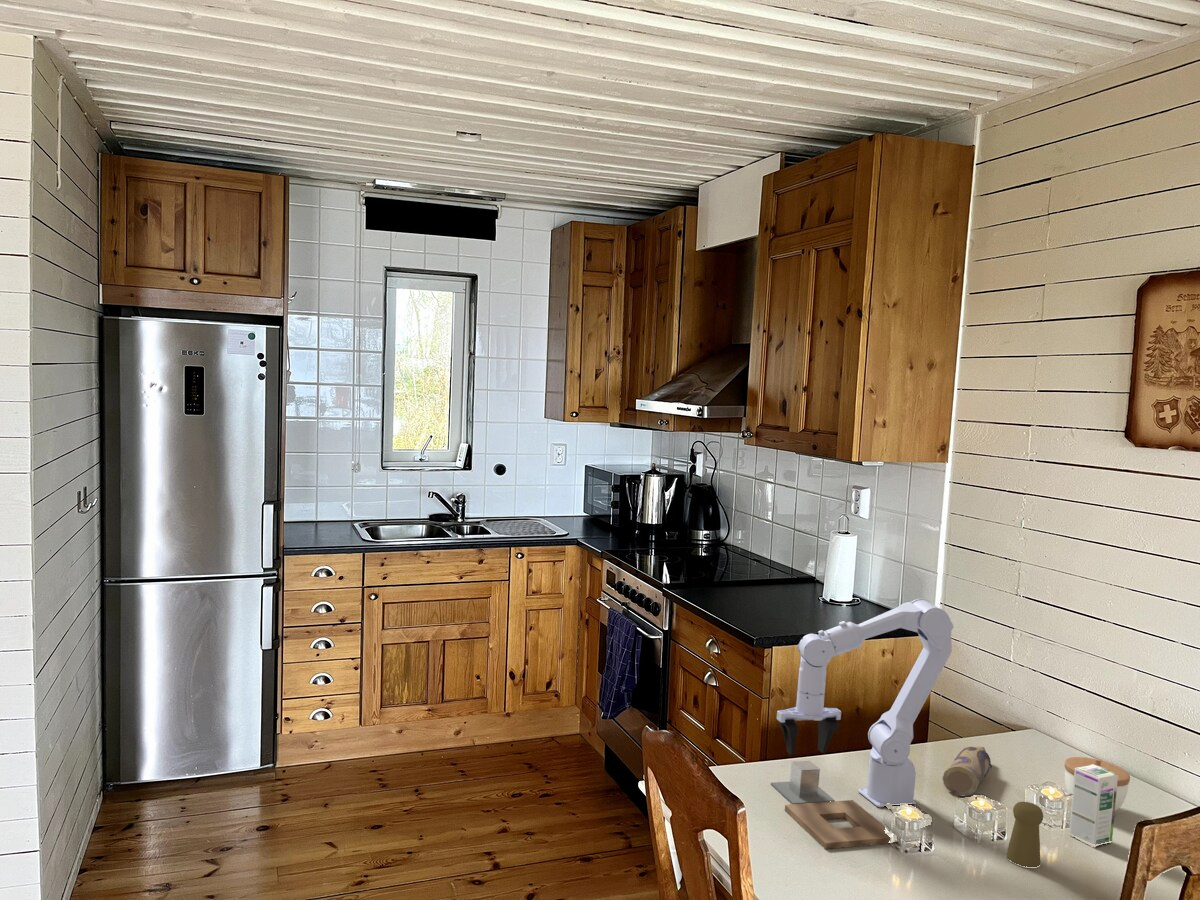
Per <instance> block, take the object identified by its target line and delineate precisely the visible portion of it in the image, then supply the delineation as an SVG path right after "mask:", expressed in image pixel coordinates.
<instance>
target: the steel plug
mask: <svg viewBox="0 0 1200 900" xmlns="http://www.w3.org/2000/svg"><path fill="white" fill-rule="evenodd" d="M820 772H821V770H820V768H819V767H818V766H817V765H816V764H815V763H813V762H812V761H811V760H797V761H791V765H790V777H789V782H790V786H789V789H790V790H792V791H793V792H794V793H795V794H796V795H797V796H798V797H814V796H818V787H819V786H820V785H819V784H820V774H821V773H820Z"/></svg>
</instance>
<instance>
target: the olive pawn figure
mask: <svg viewBox="0 0 1200 900" xmlns="http://www.w3.org/2000/svg"><path fill="white" fill-rule="evenodd" d="M1012 813H1013V817H1014V819H1015V820H1014V824H1013V828H1012V831H1011V835H1010V839H1009V843H1008V845H1007V852H1006V855H1007V858H1008V859H1009V860H1011V861H1012V862H1014V863H1016V864H1019V865H1021V866H1025V867H1026V866H1027V867H1037V866H1039V865H1040V864H1041V842H1040V839H1041V838H1040V825H1041V824H1042V822H1043V821H1044V812H1043V810H1042V808H1041V807H1040V806H1039V805H1037V804H1034V803H1032V802H1029V801H1019V802H1018V801H1017V803H1015V805H1014V806H1013V809H1012ZM1006 855H1005V856H1006ZM1007 858H1006V859H1007ZM1008 859H1007V860H1008ZM1009 860H1008V861H1009Z"/></svg>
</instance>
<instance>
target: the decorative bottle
mask: <svg viewBox="0 0 1200 900" xmlns="http://www.w3.org/2000/svg"><path fill="white" fill-rule="evenodd" d="M992 767H993V765H992V764H991V757H990V755H989V754H988V753H987V751H986V749H985V747H984V746H966V747H964V748H963V749H961V750H960V752H959V753H958V754H957V756H956V757H955V758H954V760H953V761H951V764H950V765H949V766H948V767H947V768H946V769H945V770H944V771H943V775H942V782H943V785H944V787H945V788H946V790H947V791H949V793H951V794H953V795H955V796H959V795H967V796H969V795H971V794H974V793H975V792H976V791H977V788H978V785H980V782H981V781H982V779H984V778H986V776H987V775H988V773H989V772H990V771H991V769H992Z"/></svg>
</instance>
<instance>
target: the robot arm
mask: <svg viewBox="0 0 1200 900" xmlns="http://www.w3.org/2000/svg"><path fill="white" fill-rule="evenodd" d="M898 629H904V630H905V631H906V630H907V631H910V632H911V631H912V632H915V633H917V634H918V637H919V640H920V642H921V645H922V647H923V648H922V649H921V651H920V654H919V655H918V657H917V659H916V661H915V663H914V665H913V667H912V668H911V670H910V672H909V673H908V676H907V678H906V679H905V681H904V683H903V685H902V686H901V689H900V690H899V692H898V694H897V697H896V698H895V701H894V702H893V704H892V706H891V707H890V709H889V710H887V711H885V712H884V713H882V714H881V716H880V718H879V719H878V720H877V721H876V722H874V723H873V724H872V725H871V726H870V727H869V730H868V732H867V737H868V741H869V743H870V745H871V747H872V748H871V749H870V753H869V759H868V761H869V762H868V769H867V770H868V771H867V779H866V780H867V783H866V788H858V789H857V791H858V793H859V794H860V795H862V796H863V797H864V798H866V799H867V800H868V801H869V802H870V803H872V804H873V805H875V806H876V807H878V808H885V807H884V806H885V805H886V804H887V803H890V804H900V803H912V804H915V805H916V801H914V797H915V788H916V787H915V786H916V776H917V773H916V768H915V765H914V763H913V762H912V760H911V759H910V758H909V756H910V753H911V743H912V742H913V739H914V723H915V721H916V719H917V717H918V715H920V712H921V710H922V708H923V707H924V704H925V703H926V701H927V699H928V697H929V695H930V693H931V691H932V690H933V688H934V687H935V684H936V682H937V681H938V678H939V676H941V673H942V671H943V669H944V667H945V665H946V664H947V662H948V660H949V658H950V656H951V653H952V650H953V649H952V631H953V629H954V624H953V622H952V621H951V618H950V616H949V615H948V613H947V611H946V610H944V609H942V608H941V607H938V606H936V605H935V604H933V603H932V602H931V601H930V600H928V599H926V598H916V599H914V600H912V601H907V602H903V603H902V604H900V605H899V606H897V607H895V608H892V609H890V610H888V611H885V612H882V613H881V614H878V615H876V616H874V617H872V618H870V619H868V620H865V621H862V622H861V623H858V624H856V623H854V622H852V621H848V622H846V621H844V620H842V621H839V622H838V625H836V626H835V627H831V628H829V629H827V630H823V629H821V630H819V631H818V634H816V633H808V634H805V635H804V636H803V637H802V638H801V639H800V641H799V643H798V644H797V650H798V653H799V654H800V655H801V656H800V662H799V668H798V681H797V692H796V703H795V707H791V708H787V709H781V710H777V711H776V720H777V721H778V723H779V726H780V729H781V730H782V731H781V732H782V733H783V737H784V738H783V739H784V743H785V750H786V753H788V754H789V755H790V756H794V755H795V752H796V741H797V736H798V733H799V731H800V727H799V726H798V725H797V722H796V721H817V727H818V729H817V731H818V736H817V750H818V751H819V752H820V753H821V754H826V753H827V749H828V746H829V744H830V741H831V739H832V737H833V735H834V734H835V732H836V731H837V730H838V728H839V726H840V722H839V721H840V720H841V719H842V718H841V717H842V711H841V710H840V709H838V708H837V707H824V706H825V694H826V693H825V692H826V680H827V665H828V664H829V663H830V662H831V660H832V658H834V657H838V656H840V655H842V654H846V653H848V652H851V651H854V650H855V649H859V648H861V647H862V645H863V644H864V641H865V640H866V639H869V638H873V637H877V636H879V635H882V634H885V633H889V632H892V631H895V630H898Z"/></svg>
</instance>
